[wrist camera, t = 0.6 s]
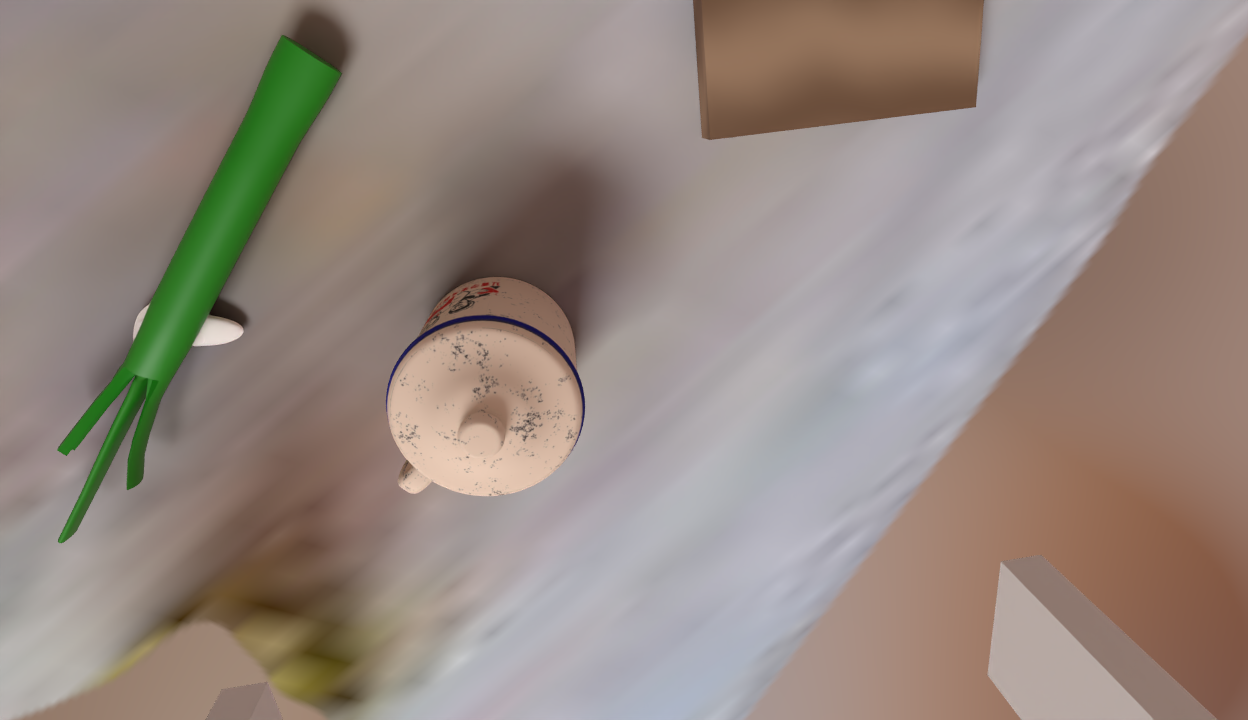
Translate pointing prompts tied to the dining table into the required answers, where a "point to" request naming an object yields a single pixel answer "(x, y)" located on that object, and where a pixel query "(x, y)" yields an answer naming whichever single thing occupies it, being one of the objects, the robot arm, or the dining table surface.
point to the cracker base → (832, 61)
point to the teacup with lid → (487, 391)
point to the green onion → (206, 259)
